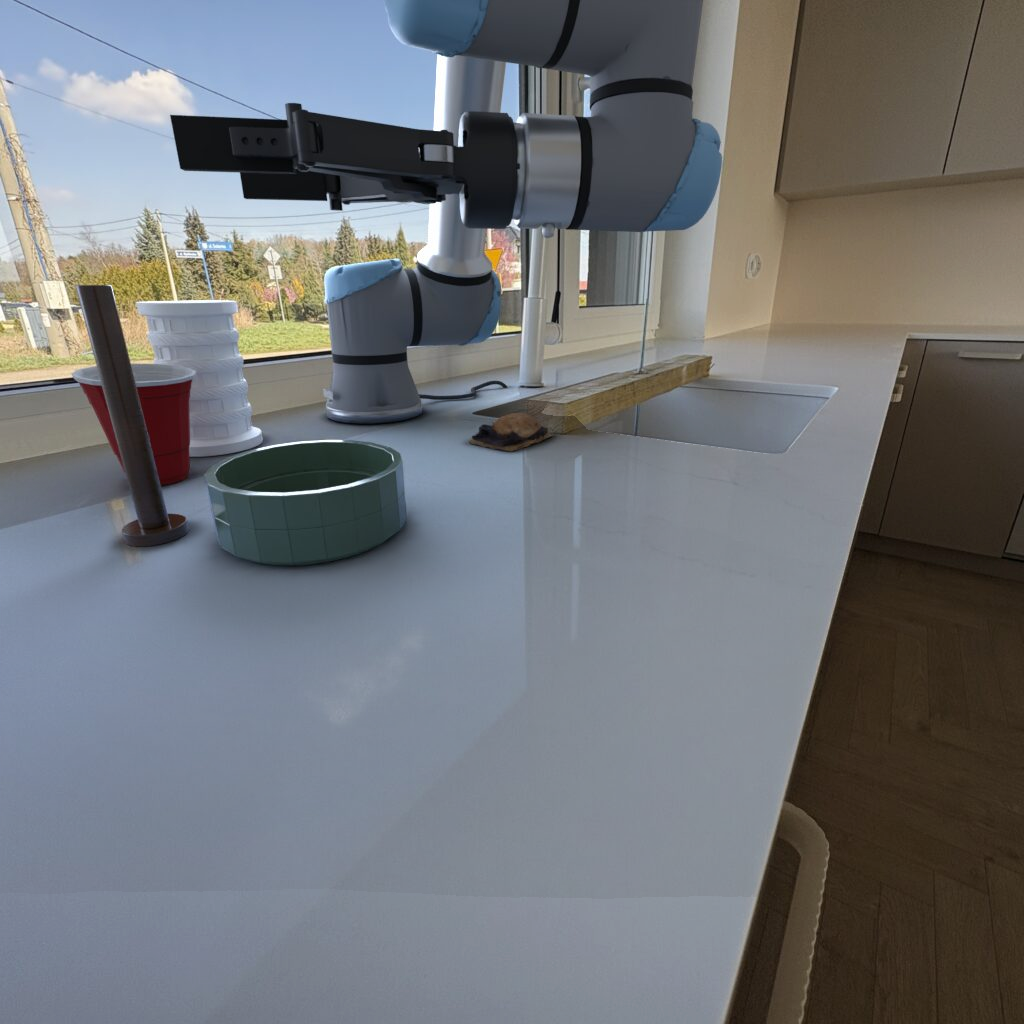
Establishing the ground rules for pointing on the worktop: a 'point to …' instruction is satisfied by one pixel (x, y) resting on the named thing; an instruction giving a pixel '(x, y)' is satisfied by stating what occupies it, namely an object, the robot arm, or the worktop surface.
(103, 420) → the plastic cup
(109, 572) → the worktop surface
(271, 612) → the worktop surface
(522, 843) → the worktop surface
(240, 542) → the bowl
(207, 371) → the decorative container
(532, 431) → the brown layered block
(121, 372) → the stirring stick
